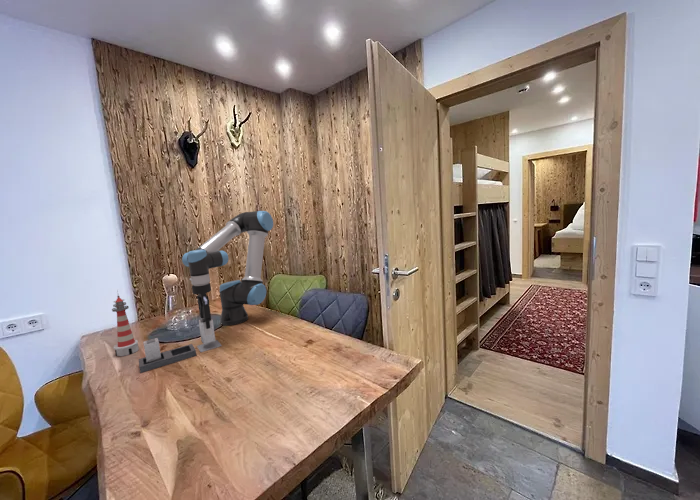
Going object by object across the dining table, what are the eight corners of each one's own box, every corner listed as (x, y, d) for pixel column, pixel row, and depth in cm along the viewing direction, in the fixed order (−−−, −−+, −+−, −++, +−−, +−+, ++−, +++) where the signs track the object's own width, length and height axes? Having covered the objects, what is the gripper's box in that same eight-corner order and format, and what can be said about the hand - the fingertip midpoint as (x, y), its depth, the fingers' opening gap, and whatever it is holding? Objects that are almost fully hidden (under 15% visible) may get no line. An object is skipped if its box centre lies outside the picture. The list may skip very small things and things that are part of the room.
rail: (192, 349, 134) (191, 343, 133) (196, 356, 127) (195, 350, 126) (139, 365, 122) (138, 359, 121) (140, 374, 114) (139, 367, 114)
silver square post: (161, 360, 124) (157, 337, 123) (162, 364, 121) (158, 340, 119) (146, 364, 121) (143, 340, 120) (147, 368, 118) (143, 344, 116)
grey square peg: (212, 337, 139) (210, 316, 137) (215, 340, 135) (212, 319, 133) (201, 340, 136) (198, 319, 134) (203, 344, 132) (200, 322, 130)
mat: (217, 341, 142) (217, 339, 142) (222, 346, 135) (221, 345, 135) (196, 347, 136) (196, 345, 136) (200, 353, 129) (200, 352, 129)
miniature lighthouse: (118, 358, 130) (106, 293, 126) (112, 354, 135) (100, 291, 132) (142, 350, 137) (132, 288, 133) (135, 346, 143) (125, 286, 139)
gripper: (188, 282, 137) (194, 330, 140) (195, 288, 123) (202, 341, 125) (205, 279, 141) (211, 325, 144) (214, 285, 127) (221, 336, 130)
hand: (207, 333), depth 135 cm, fingers closed on grey square peg, 5 cm apart
